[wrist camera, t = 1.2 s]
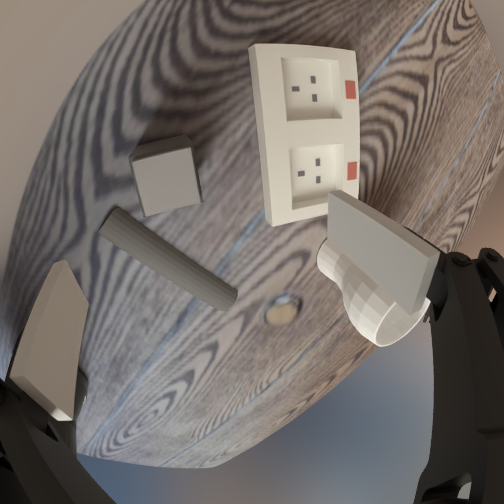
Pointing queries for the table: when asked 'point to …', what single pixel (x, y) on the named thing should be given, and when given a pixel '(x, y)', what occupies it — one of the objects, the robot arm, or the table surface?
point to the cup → (366, 299)
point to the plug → (166, 175)
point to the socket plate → (305, 127)
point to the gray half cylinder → (166, 260)
